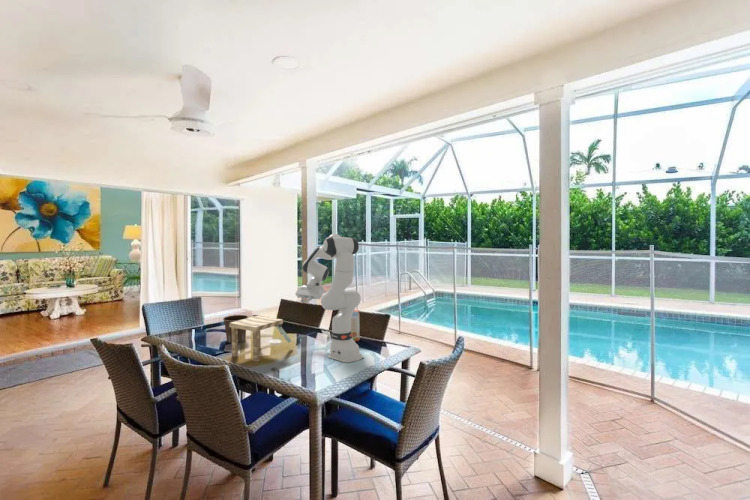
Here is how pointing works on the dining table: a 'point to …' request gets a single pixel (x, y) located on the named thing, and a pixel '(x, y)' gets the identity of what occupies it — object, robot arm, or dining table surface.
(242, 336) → the plant pot
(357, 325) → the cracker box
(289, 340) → the folding leg
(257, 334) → the stool
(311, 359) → the dining table surface
